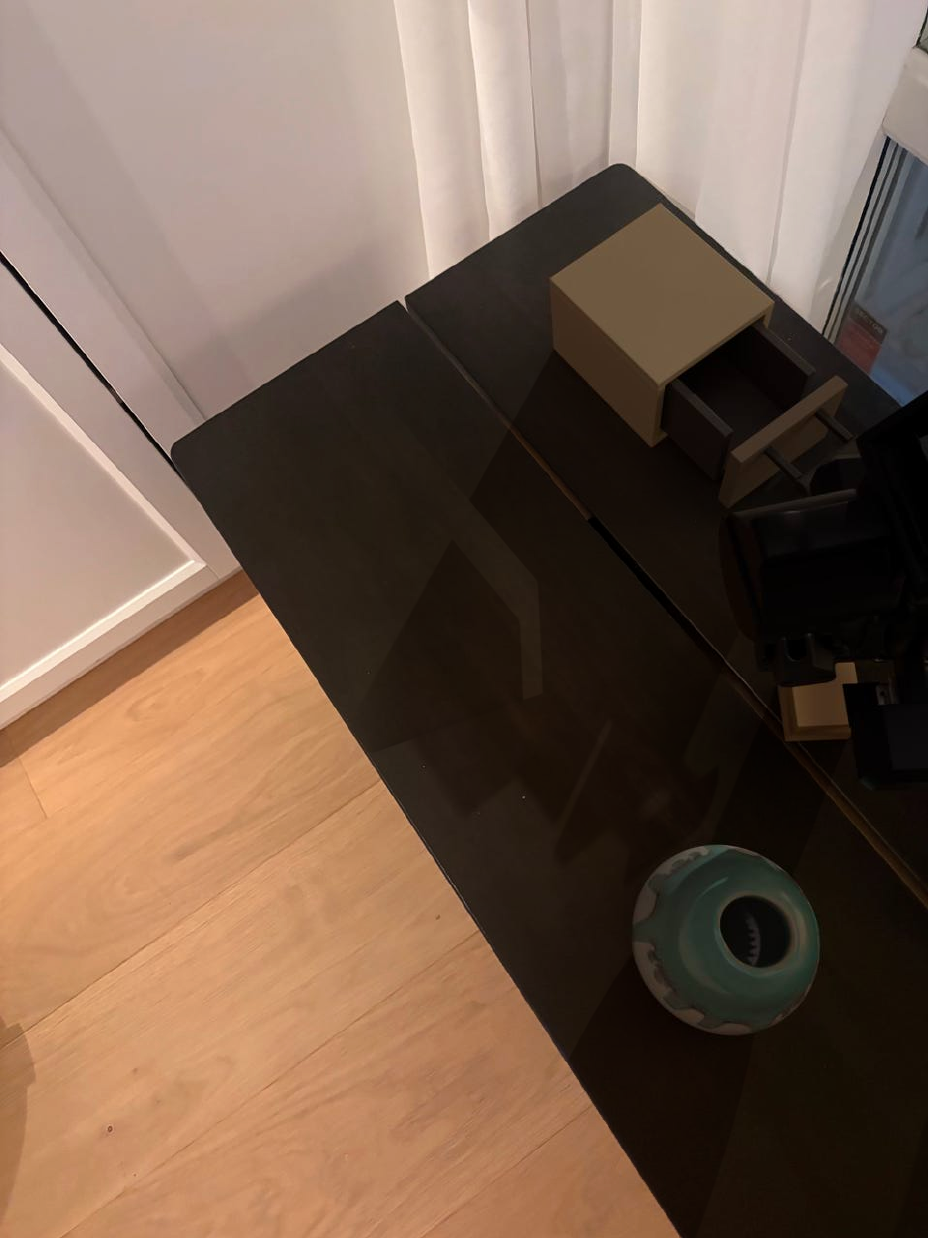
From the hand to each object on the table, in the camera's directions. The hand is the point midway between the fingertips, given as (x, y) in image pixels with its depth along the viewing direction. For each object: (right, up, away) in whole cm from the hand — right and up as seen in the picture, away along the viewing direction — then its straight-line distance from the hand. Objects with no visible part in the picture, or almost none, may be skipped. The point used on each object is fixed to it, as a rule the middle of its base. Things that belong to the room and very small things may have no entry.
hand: (854, 661), depth 57 cm
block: (+2, -4, +11) cm, 12 cm away
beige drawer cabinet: (-8, +26, +24) cm, 36 cm away
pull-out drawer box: (-1, +17, +19) cm, 26 cm away
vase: (-7, -20, +7) cm, 22 cm away
